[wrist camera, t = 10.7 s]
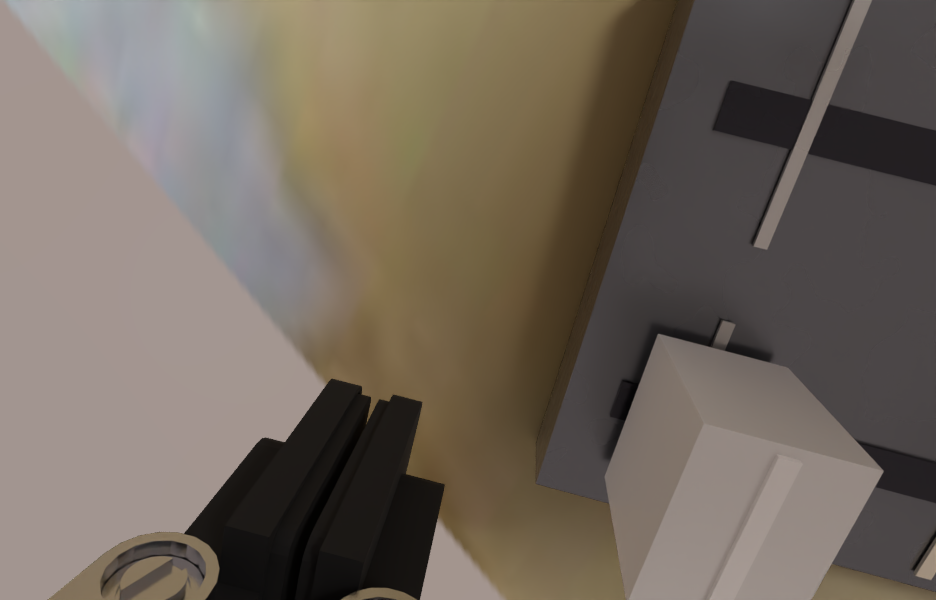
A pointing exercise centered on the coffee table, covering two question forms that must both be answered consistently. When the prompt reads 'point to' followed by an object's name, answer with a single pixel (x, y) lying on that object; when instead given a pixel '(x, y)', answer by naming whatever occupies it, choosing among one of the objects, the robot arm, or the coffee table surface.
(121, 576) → the robot arm
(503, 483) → the coffee table surface
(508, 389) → the coffee table surface
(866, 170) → the console
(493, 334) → the coffee table surface
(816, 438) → the fader
